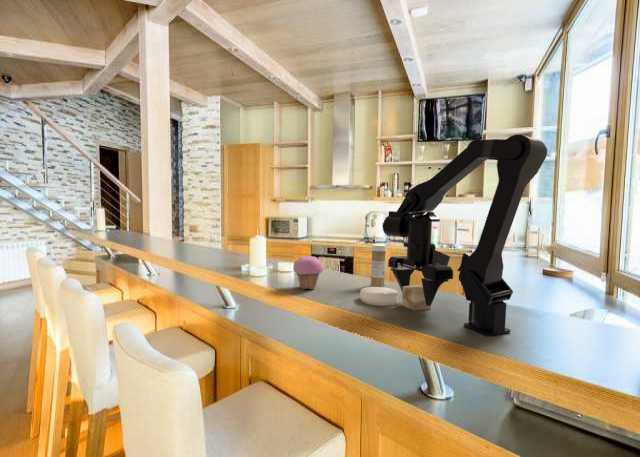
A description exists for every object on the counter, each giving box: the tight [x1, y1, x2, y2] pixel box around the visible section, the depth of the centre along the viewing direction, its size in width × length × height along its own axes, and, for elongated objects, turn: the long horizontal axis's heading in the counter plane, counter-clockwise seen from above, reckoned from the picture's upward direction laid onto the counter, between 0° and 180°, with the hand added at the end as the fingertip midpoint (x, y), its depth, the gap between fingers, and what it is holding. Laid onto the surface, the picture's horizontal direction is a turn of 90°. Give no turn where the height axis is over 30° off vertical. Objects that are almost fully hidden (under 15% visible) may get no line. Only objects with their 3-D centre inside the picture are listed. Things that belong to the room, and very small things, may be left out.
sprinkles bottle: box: [370, 243, 387, 288], centre depth 107 cm, size 5×5×13 cm
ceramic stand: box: [360, 286, 399, 307], centre depth 91 cm, size 10×10×2 cm
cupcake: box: [292, 255, 324, 290], centre depth 102 cm, size 9×9×10 cm
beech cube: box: [401, 284, 432, 311], centre depth 86 cm, size 5×5×5 cm
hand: (416, 300), depth 86 cm, fingers open, 9 cm apart
